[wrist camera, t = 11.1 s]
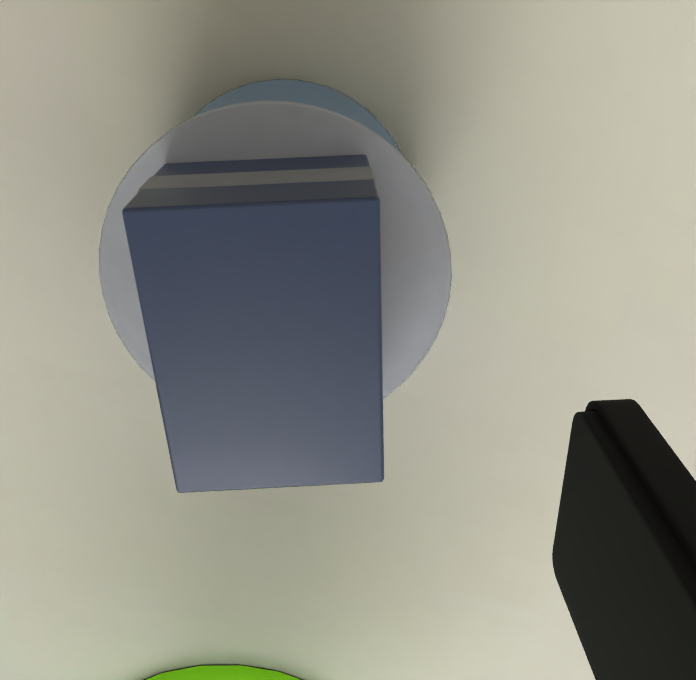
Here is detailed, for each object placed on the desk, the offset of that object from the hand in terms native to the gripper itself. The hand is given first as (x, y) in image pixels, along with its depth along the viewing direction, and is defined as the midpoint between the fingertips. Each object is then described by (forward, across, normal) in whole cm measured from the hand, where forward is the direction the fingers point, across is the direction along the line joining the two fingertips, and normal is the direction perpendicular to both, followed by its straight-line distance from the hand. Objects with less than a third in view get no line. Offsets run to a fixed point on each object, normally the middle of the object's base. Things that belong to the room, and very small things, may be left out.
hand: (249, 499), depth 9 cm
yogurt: (+16, 0, +1) cm, 16 cm away
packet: (+9, 0, +1) cm, 9 cm away
